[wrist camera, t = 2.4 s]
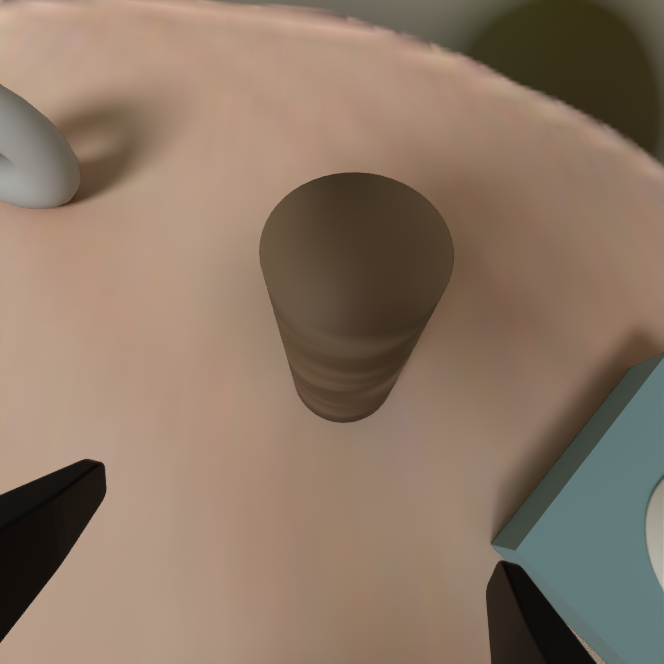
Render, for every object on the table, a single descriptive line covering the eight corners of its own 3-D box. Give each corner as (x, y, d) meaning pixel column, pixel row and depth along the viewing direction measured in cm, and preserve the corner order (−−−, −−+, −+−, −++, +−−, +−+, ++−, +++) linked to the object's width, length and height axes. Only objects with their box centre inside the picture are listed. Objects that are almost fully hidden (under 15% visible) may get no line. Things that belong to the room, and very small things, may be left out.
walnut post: (313, 437, 23) (294, 364, 11) (281, 345, 25) (237, 200, 13) (408, 401, 24) (489, 296, 12) (369, 315, 26) (404, 154, 14)
